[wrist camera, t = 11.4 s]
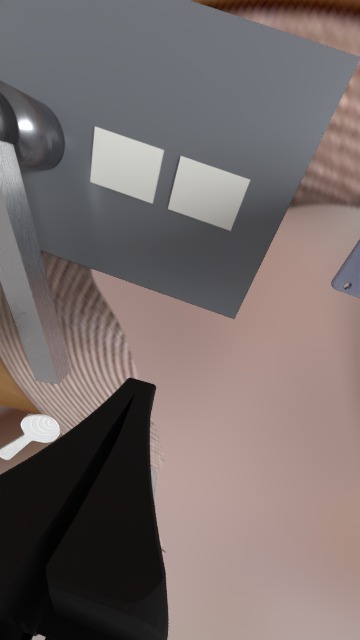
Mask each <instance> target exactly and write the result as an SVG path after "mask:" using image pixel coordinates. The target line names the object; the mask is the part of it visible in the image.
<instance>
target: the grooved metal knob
mask: <svg viewBox="0 0 360 640" xmlns="http://www.w3.org/2000/svg"><path fill="white" fill-rule="evenodd" d="M0 92H1V93H2V94H3V95H4V96H5V97H6V99H7V100H8V101H9V103H10V105H11V106H12V108H13V110H14V113H15V115H16V119H17V123H18V140H17V144H16V146H15V148H14V149H15V153H16V157H17V161H18V165H19V166H23V167H29V168H35V169H41V170H50V169H53V168H55V167H56V166H57V165H58V164H59V163H60V161H61V160H62V157H63V154H64V149H65V140H64V134H63V130H62V127H61V124H60V122H59V120H58V118H57V117H56V115H55V114H54V112H53V111H52V110H51V109H50V108H49V107H48V106H47V105H45V104H44V103H42V102H40V101H38V100H36V99H34V98H33V97H31V96H29V95H27V94H25V93H23V92H21V91H19V90H18V89H16V88H14V87H12V86H10V85H8V84H6V83H4V82H3V81H1V80H0Z"/></svg>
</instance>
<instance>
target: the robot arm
mask: <svg viewBox="0 0 360 640" xmlns="http://www.w3.org/2000/svg"><path fill="white" fill-rule="evenodd" d="M346 283H350V284H349V286H348V287H346V288H344V285H345V284H346ZM331 285H332V287H333V288H334V289H336V290H339V291H341V292H344V293H347V294H350V295H353V296H356V297H359V298H360V240H359V241H358V243H357V244H356V246H355V247H354V249H353V250H352V252H351V253H350V255H349V256H348V258H347V259H346V261H345V262H344V264H343V265H342V267H341V268H340V270H339V271H338V273H337V274H336V276H335V277H334V279H333V280H332V283H331ZM155 391H156V386H155V385H154V384H151V383H147V382H144V381H140V380H137V379H133V378H128V379H127V380H126V381H125V382H124V383H123V385H122V386H121V387H120V388H119V389H118V390H117V391H116V392H115V393H114V394H113V395H112V396H111V397H110V398H108V399H107V400H106V401H105V402H104V403H103V404H102V405H101V406H100V407H98V408H97V409H96V410H95V411H94V412H93V413H91V414H90V415H89V416H88V417H87V418H85V419H84V420H83V421H82V422H80V423H79V424H78V425H77V426H75V427H74V428H73V429H71V430H70V431H69V432H67V433H66V434H65V435H63V436H62V437H60V438H59V439H57V440H56V441H55V442H53V443H52V444H50V445H49V446H47V447H45V448H44V449H42V450H41V451H39V452H38V453H37V454H35V455H33V456H31V457H30V458H28V459H27V460H25V461H23V462H21V463H20V464H18V465H16V466H15V467H13V468H11V469H9V470H8V471H6V472H4V473H2V474H1V475H0V640H32V637H33V636H37V635H38V634H40V635H42V636H45V637H46V638H45V640H167V637H168V603H167V589H166V573H165V567H164V562H163V557H162V551H161V545H160V540H159V533H158V527H157V521H156V514H155V505H154V497H153V489H152V478H151V464H150V416H151V410H152V406H153V400H154V396H155Z"/></svg>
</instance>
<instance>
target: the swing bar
mask: <svg viewBox="0 0 360 640" xmlns="http://www.w3.org/2000/svg"><path fill="white" fill-rule="evenodd" d="M17 140H18V123H17V119H16V115H15V113H14V110H13V108H12V106H11V105H10V103H9V101H8V100H7V99H6V97H5V96H4V95H3V94H2V93H1V92H0V282H1V285H2V288H3V290H4V293H5V296H6V299H7V302H8V304H9V307H10V310H11V313H12V316H13V318H14V321H15V324H16V327H17V330H18V333H19V335H20V338H21V341H22V344H23V347H24V349H25V352H26V355H27V358H28V361H29V363H30V366H31V369H32V372H33V375H34V378H35V380H36V381H40V382H47V383H53V384H60V382H61V381H62V380H63V379H64V378H65V377H66V376H67V375H68V374H69V373H70V372H71V369H70V365H69V361H68V357H67V353H66V349H65V345H64V341H63V338H62V334H61V330H60V326H59V322H58V318H57V314H56V310H55V306H54V302H53V298H52V294H51V290H50V287H49V283H48V279H47V275H46V271H45V267H44V263H43V259H42V255H41V251H40V247H39V243H38V240H37V236H36V232H35V228H34V224H33V220H32V216H31V212H30V208H29V204H28V200H27V196H26V193H25V189H24V185H23V181H22V177H21V173H20V169H19V165H18V161H17V157H16V153H15V149H14V148H15V146H16V144H17Z"/></svg>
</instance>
